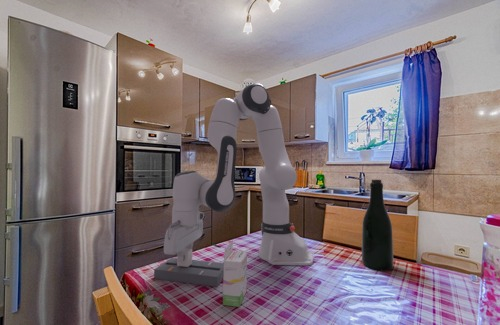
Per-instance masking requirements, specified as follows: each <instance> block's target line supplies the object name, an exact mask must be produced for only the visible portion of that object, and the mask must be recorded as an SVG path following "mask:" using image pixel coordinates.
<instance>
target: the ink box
mask: <svg viewBox="0 0 500 325" xmlns="http://www.w3.org/2000/svg"><path fill="white" fill-rule="evenodd" d="M233 247H234V240H231V241H230V242H229V244H228V245H227V246H226V247H225V248H224V255H223V263H224V276H223V279H222V281H223V282H222V284H223V286H222V305H223V306H227V307H228V306H229V307H235V308H237V307H238V308H240V307H241V304H242V302H243V301H244V298H245V295H246V293H247V287H248V286H247V285H248V284H247V282H248V281H247V280H248V278H247V277H248V274H247V273H248V272H247V271H248V251H246V250H237V249H236V250H235V249H233Z"/></svg>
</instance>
